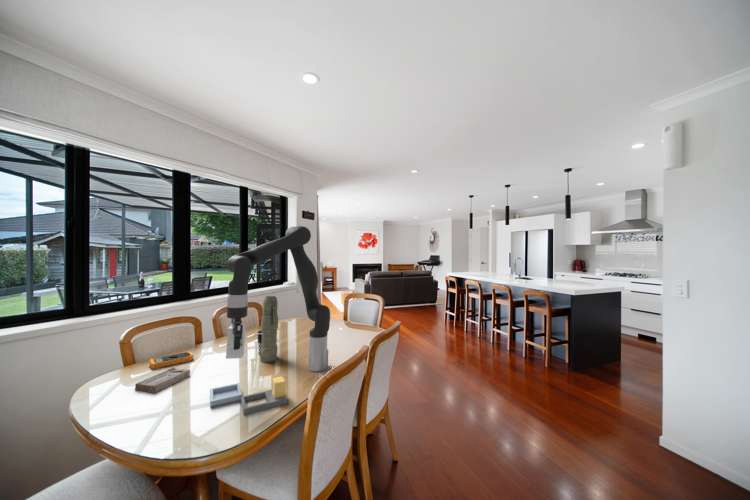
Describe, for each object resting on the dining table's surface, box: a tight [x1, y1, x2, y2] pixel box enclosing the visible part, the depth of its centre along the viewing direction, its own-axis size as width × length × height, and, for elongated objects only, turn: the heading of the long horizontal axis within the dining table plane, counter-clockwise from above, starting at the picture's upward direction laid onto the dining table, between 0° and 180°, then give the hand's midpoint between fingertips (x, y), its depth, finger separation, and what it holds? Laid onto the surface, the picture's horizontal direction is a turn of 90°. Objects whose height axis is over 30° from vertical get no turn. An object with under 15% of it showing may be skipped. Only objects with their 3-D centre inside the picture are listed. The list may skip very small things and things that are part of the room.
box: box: [134, 367, 191, 394], centre depth 125 cm, size 11×17×3 cm, turn 167°
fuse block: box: [240, 376, 288, 415], centre depth 112 cm, size 16×10×8 cm, turn 122°
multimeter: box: [149, 351, 194, 370], centre depth 146 cm, size 9×18×3 cm, turn 135°
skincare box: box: [225, 325, 247, 359], centre depth 112 cm, size 6×4×12 cm
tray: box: [209, 382, 243, 409], centre depth 114 cm, size 11×11×2 cm
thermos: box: [259, 295, 279, 363], centre depth 155 cm, size 9×12×35 cm
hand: (235, 346), depth 113 cm, fingers closed on skincare box, 5 cm apart
